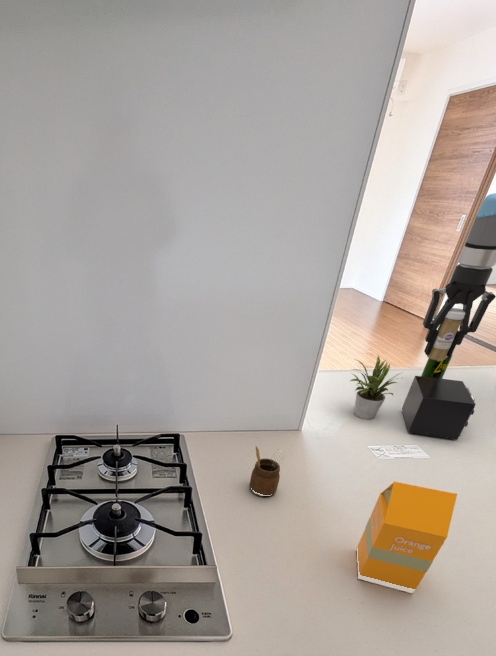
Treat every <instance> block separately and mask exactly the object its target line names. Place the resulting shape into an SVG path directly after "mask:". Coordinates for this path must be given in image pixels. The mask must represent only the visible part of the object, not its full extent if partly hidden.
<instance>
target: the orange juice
mask: <svg viewBox="0 0 496 656" xmlns="http://www.w3.org/2000/svg"><path fill="white" fill-rule="evenodd" d="M457 498H458V493H454V492H449V491H443V490H439V489H434V488H430V487H424V486H418V485H413V484H409V483H403V482H398V481H393V482H392V483H391V484H390V485H389V486H388V487H387V488H385V489H384V490H383V491H381V492H380V493H379V495H378V497H377V500H376V503H375V504H374V507H373V509H372V512H371V514H370V516H369V518H368V520H367V523H366V525H365V527H364V529H363V532H362V534H361V537H360V539H359V541H358V543H357V547H358V561H359V572H360V575H362V576H366V577H370V578H374V579H378V580H381V581H385V582H389V583H392V584H396V585H400V586H404V587H407V588H412V589H416V590H417V589H418V587H419V586H420V583H421V582H422V580H423V578H424V576H425V575H426V574H427V572H428V571H429V569H430V567H431V566H432V565H433V561H434V560H435V558H436V556H437V555H438V553H439V552H440V550H441V548H442V546H443V545H444V543H445V541H446V540H447V539H448V534H449V530H450V526H451V523H452V517H453V514H454V513H453V512H454V510H455V507H456V506H455V505H456V501H457ZM357 547H356V548H357Z"/></svg>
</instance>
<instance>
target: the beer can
mask: <svg viewBox="0 0 496 656" xmlns="http://www.w3.org/2000/svg"><path fill="white" fill-rule="evenodd" d="M452 358H453V354H452V355H451V357H447V355H446V358H445V360H441V361H438V360H433V359H430V358H428V357H427V361H426V363H425V366H424V369H423V371H422V373H421V375H420V376H423V377H431V378H440V379H444V376H445V373H446V371H447V369H448V366H449V365H450V363H451V360H452Z"/></svg>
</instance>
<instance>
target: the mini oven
mask: <svg viewBox="0 0 496 656" xmlns="http://www.w3.org/2000/svg"><path fill="white" fill-rule="evenodd" d="M475 401H476V399H475V398H474V396H473V394H472V392H471V391H470V389H469V387H467V386H466V385H465V382H464V381H463V380H457V379H447V378H442V379H440V378H431V377H423V376H421V375H414V377H413V380H412V382H411V385H410V387H409V390H408V392H407V394H406V397H405V399H404V401H403V403H402V404H403V405H402V406H401V411H402V415H403V418H404V422H405V424H406V429H407V432H408V433H410V434H417V435H418V434H419V435H425V436H432V437H438V438H445V439H448V440H459V437H460V436H461V435H462V432H463V431H464V429H465V428H466V427H468V425H469V419H470V417H471V416H473V415H474V414H475V408H476V405H477V404H476V402H475Z"/></svg>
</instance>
